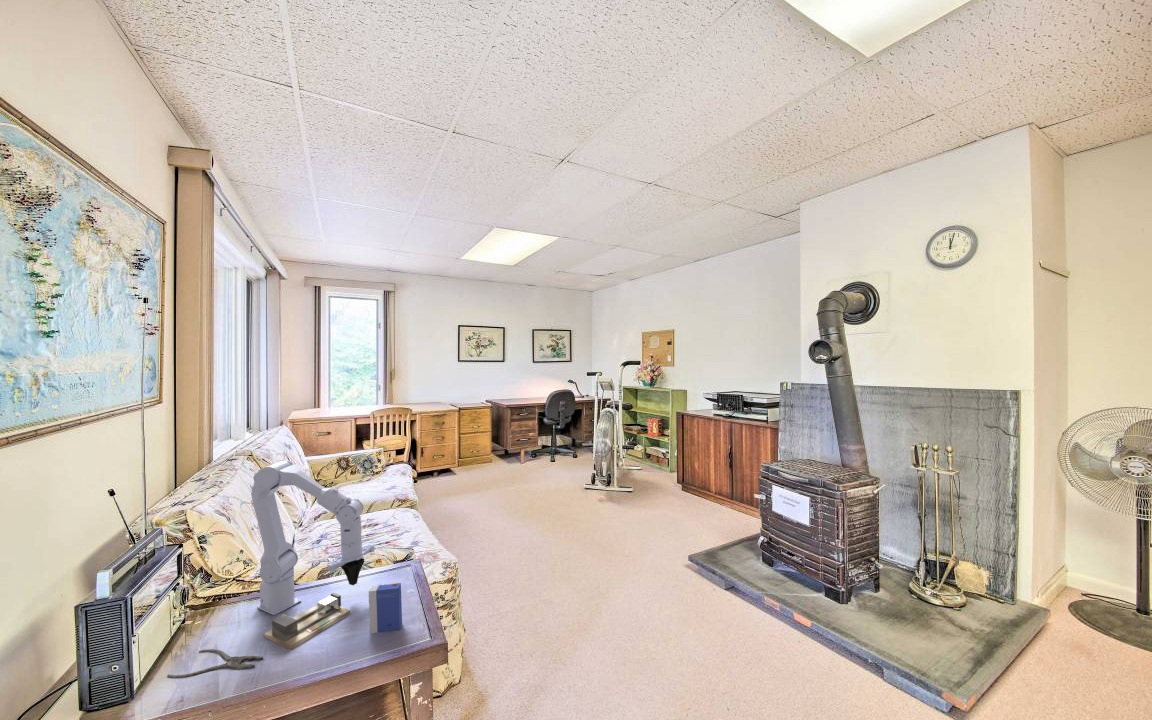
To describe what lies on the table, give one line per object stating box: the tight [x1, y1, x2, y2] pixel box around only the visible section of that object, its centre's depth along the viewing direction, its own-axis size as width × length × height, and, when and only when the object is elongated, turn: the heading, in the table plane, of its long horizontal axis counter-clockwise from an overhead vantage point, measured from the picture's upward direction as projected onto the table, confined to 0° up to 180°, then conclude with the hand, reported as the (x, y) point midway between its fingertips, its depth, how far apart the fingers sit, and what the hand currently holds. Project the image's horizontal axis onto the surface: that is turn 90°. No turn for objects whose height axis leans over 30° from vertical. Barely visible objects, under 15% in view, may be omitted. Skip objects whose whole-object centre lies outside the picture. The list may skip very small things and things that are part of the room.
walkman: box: [368, 582, 403, 634], centre depth 117 cm, size 8×3×12 cm, turn 99°
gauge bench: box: [264, 604, 352, 650], centre depth 120 cm, size 17×12×5 cm
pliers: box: [166, 648, 264, 679], centre depth 107 cm, size 10×1×20 cm
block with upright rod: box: [316, 592, 342, 615], centre depth 124 cm, size 5×7×3 cm
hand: (352, 583), depth 132 cm, fingers closed
